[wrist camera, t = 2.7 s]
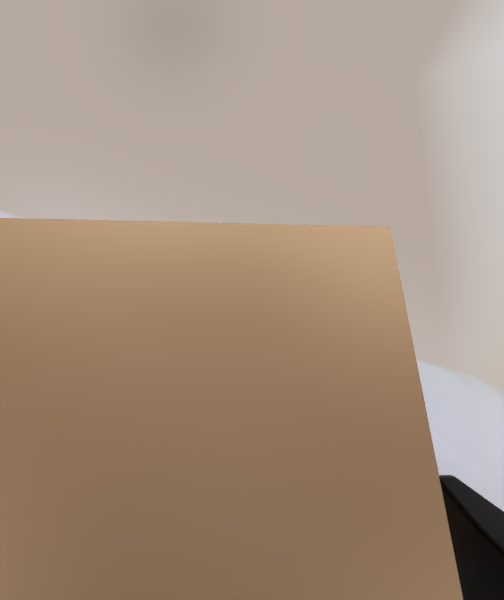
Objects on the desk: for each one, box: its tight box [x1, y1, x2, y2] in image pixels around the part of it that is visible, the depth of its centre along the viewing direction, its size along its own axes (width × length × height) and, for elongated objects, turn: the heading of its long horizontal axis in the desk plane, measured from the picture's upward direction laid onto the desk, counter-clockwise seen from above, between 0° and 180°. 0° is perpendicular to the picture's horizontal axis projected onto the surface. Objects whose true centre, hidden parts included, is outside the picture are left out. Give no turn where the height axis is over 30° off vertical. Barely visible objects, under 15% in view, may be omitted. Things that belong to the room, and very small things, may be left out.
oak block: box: [0, 218, 463, 600], centre depth 10 cm, size 5×5×13 cm
